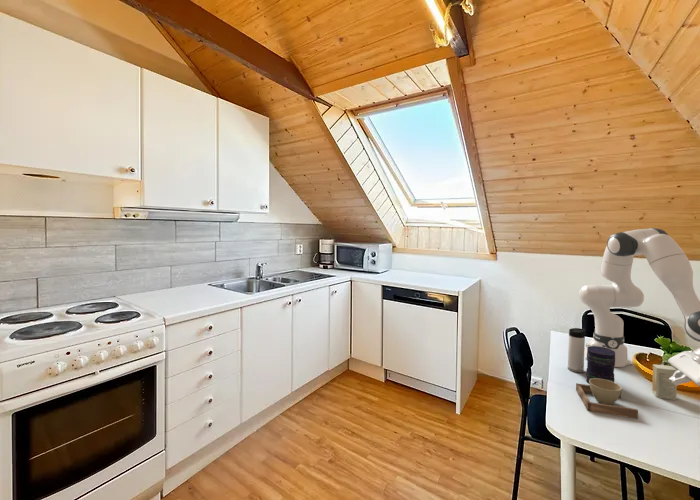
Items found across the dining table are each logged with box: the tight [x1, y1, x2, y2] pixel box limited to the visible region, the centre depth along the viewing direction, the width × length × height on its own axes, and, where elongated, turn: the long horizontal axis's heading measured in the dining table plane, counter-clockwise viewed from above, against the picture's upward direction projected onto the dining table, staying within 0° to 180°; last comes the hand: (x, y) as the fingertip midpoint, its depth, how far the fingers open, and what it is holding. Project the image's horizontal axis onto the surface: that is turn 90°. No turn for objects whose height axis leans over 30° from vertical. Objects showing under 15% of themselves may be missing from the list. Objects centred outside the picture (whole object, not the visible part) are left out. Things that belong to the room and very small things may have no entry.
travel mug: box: [567, 327, 587, 373], centre depth 155 cm, size 6×7×20 cm
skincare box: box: [651, 364, 678, 401], centre depth 130 cm, size 6×4×12 cm
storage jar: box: [585, 345, 616, 385], centre depth 141 cm, size 10×10×18 cm
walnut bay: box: [575, 382, 639, 420], centre depth 127 cm, size 16×15×3 cm
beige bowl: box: [588, 378, 622, 406], centre depth 128 cm, size 10×10×7 cm
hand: (672, 382), depth 119 cm, fingers closed
